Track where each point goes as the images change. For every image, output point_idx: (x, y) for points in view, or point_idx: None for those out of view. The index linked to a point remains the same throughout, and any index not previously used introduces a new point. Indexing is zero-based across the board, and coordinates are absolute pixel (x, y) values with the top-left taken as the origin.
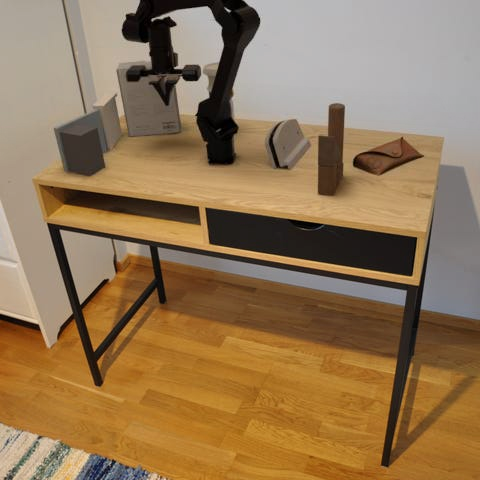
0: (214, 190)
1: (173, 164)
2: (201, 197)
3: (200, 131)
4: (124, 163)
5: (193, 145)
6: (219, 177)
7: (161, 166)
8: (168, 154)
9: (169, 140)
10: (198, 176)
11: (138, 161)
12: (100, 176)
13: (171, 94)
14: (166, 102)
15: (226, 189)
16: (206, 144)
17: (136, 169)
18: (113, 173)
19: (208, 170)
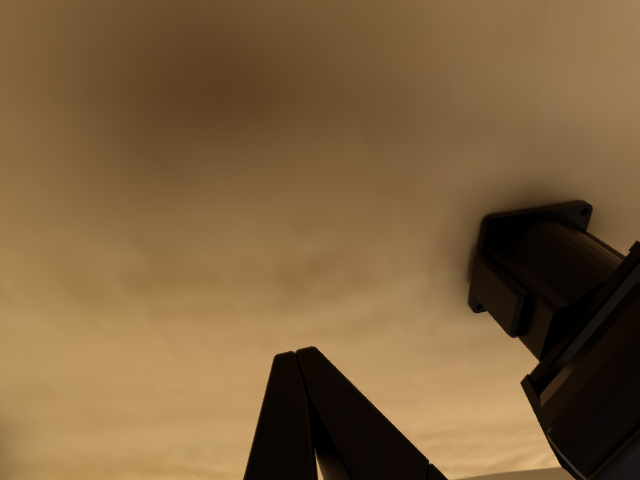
0: (491, 435)
1: (318, 331)
2: (458, 469)
3: (543, 428)
4: (63, 371)
5: (364, 105)
6: (506, 375)
7: (270, 356)
8: (253, 244)
9: (160, 24)
10: (437, 385)
11: (127, 340)
12: (40, 477)
13: (402, 438)
14: (313, 438)
15: (524, 423)
16: (510, 331)
17: (167, 400)
18: (82, 448)
19: (469, 343)
